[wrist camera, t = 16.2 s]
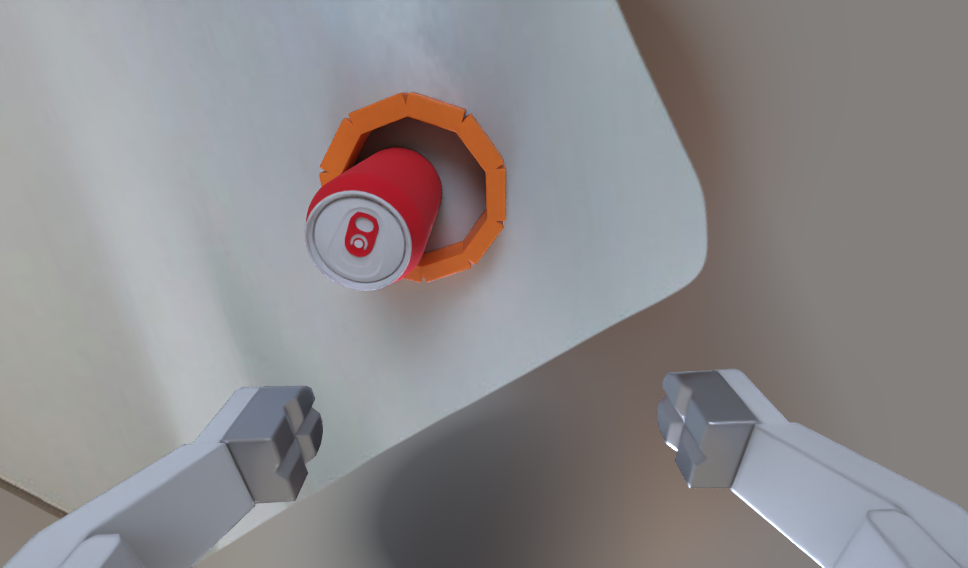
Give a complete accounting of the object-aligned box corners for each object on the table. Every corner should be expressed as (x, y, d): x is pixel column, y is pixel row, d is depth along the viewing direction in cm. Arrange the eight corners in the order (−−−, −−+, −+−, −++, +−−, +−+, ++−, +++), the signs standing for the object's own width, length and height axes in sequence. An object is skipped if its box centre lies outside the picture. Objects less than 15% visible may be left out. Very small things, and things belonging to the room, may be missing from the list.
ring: (503, 90, 27) (506, 90, 24) (503, 266, 33) (505, 280, 30) (318, 94, 27) (302, 95, 24) (351, 269, 33) (341, 284, 30)
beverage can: (352, 209, 30) (281, 274, 20) (374, 131, 28) (306, 157, 17) (428, 239, 32) (399, 315, 21) (455, 166, 29) (439, 211, 18)
